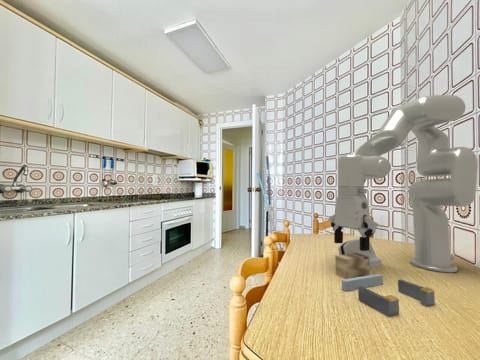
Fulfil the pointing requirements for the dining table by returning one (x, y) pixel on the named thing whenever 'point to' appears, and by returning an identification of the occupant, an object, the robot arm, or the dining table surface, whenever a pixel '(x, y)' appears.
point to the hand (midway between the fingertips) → (350, 246)
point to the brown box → (352, 265)
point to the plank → (362, 282)
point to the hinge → (359, 251)
